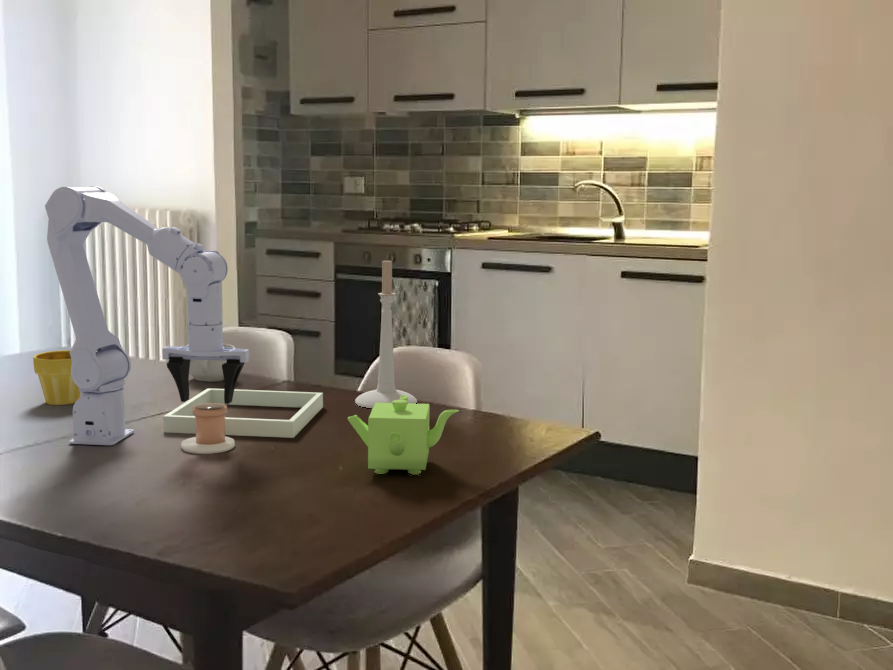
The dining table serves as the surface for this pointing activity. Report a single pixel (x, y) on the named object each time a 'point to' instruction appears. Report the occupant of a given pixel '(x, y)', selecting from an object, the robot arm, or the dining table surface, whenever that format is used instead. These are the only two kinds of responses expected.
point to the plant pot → (56, 377)
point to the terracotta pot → (210, 423)
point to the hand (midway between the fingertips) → (206, 401)
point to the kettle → (399, 435)
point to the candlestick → (385, 351)
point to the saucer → (206, 446)
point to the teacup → (207, 368)
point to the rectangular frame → (308, 401)
